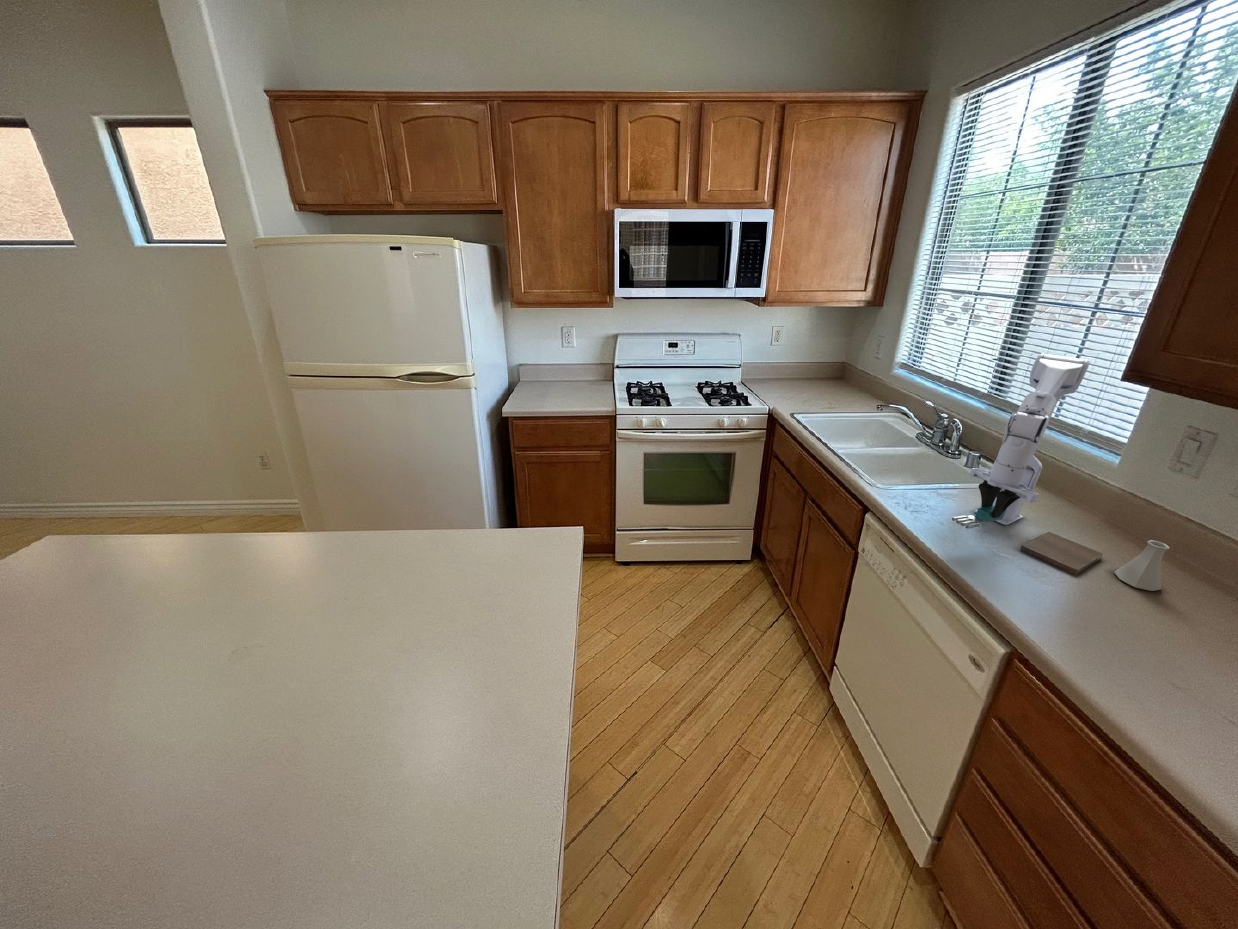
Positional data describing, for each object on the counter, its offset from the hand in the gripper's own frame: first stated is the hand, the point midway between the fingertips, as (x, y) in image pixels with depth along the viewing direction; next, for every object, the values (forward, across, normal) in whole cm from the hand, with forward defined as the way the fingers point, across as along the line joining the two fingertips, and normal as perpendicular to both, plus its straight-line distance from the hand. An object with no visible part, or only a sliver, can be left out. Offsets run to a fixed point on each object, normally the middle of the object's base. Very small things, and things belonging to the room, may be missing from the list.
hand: (990, 514), depth 115 cm
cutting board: (+8, +9, +15) cm, 20 cm away
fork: (+1, 0, -4) cm, 4 cm away
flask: (+9, +21, +20) cm, 31 cm away
